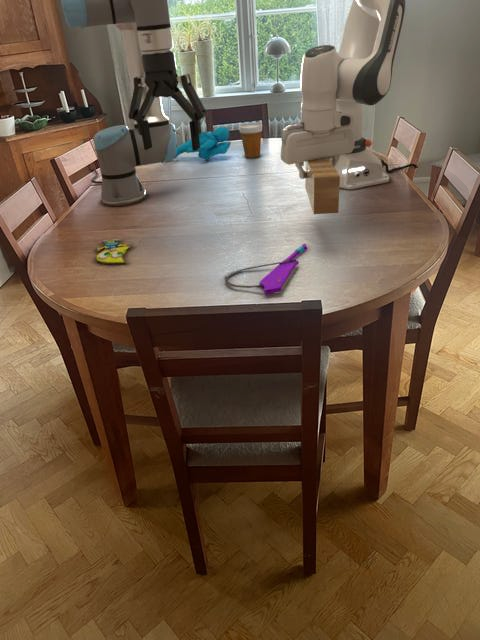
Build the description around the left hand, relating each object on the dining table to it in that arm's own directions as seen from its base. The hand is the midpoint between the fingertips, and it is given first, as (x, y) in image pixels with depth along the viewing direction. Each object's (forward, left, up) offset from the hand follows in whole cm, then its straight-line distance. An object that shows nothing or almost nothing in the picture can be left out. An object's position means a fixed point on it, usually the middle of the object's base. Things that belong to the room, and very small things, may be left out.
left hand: (172, 149), depth 120 cm
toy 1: (-8, -18, -24) cm, 32 cm away
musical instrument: (+31, +3, -24) cm, 40 cm away
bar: (+26, +26, -15) cm, 40 cm away
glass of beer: (-53, +68, -24) cm, 90 cm away
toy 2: (-69, +52, -24) cm, 90 cm away
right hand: (+19, +32, -11) cm, 39 cm away
